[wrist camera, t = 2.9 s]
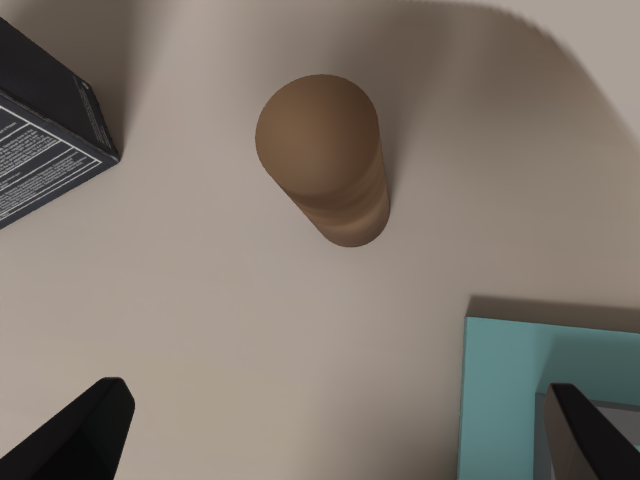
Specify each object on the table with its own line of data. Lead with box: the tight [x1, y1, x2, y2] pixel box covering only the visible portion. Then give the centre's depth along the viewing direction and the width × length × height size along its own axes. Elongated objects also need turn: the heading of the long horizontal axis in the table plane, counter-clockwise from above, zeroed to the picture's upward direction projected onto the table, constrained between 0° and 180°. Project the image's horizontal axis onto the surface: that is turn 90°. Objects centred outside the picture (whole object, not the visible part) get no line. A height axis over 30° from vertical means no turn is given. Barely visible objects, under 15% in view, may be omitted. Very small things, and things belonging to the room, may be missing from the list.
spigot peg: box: [255, 74, 390, 247], centre depth 20 cm, size 4×4×10 cm
